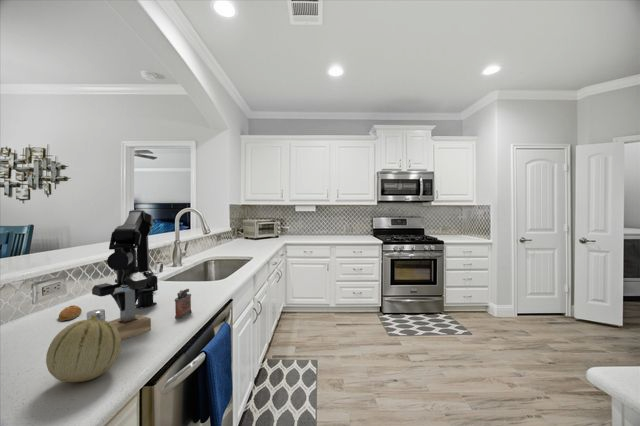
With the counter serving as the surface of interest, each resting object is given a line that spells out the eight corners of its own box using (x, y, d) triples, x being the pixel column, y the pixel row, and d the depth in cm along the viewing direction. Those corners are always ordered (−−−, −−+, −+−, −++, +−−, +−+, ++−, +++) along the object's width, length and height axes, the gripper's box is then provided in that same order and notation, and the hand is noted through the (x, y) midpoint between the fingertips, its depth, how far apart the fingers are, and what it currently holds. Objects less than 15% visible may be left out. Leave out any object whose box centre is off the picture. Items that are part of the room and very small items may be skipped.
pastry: (78, 319, 114) (78, 310, 113) (55, 323, 110) (55, 313, 110) (82, 312, 121) (82, 303, 121) (60, 316, 118) (60, 306, 118)
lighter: (180, 319, 113) (180, 293, 113) (172, 318, 114) (172, 292, 113) (193, 311, 121) (193, 287, 121) (186, 311, 121) (185, 287, 121)
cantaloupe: (34, 403, 64) (32, 336, 64) (61, 369, 78) (60, 313, 78) (114, 386, 70) (113, 324, 70) (127, 358, 84) (125, 306, 84)
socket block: (104, 334, 99) (103, 323, 99) (134, 324, 108) (134, 313, 108) (120, 340, 95) (120, 328, 95) (150, 329, 103) (150, 318, 103)
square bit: (120, 319, 101) (119, 291, 101) (130, 316, 104) (129, 288, 103) (125, 321, 99) (124, 292, 99) (135, 318, 102) (134, 289, 102)
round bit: (84, 329, 104) (83, 312, 104) (100, 324, 108) (100, 308, 108) (91, 332, 101) (91, 315, 101) (108, 327, 106) (107, 310, 106)
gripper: (109, 272, 89) (110, 323, 89) (166, 261, 105) (167, 304, 106) (90, 268, 94) (91, 316, 95) (148, 259, 111) (148, 300, 111)
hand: (127, 309), depth 101 cm, fingers closed on square bit, 3 cm apart
